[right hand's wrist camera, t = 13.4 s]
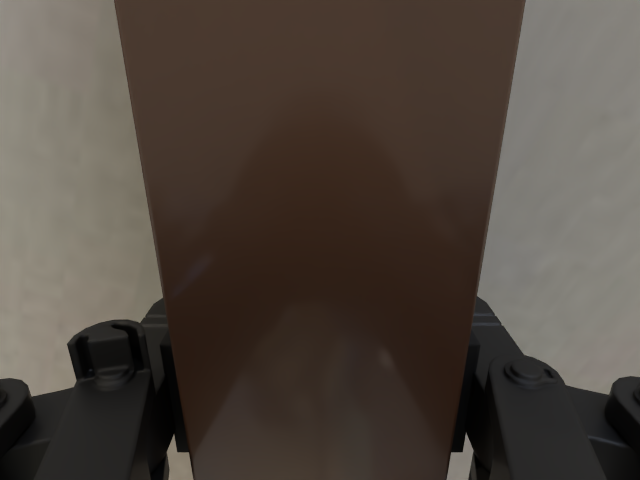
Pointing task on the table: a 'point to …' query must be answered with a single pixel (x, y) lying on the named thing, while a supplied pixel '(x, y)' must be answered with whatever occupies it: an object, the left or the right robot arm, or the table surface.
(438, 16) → the beam
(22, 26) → the table surface
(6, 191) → the table surface
